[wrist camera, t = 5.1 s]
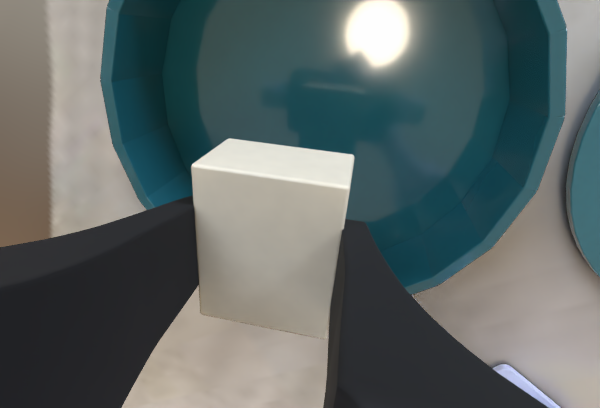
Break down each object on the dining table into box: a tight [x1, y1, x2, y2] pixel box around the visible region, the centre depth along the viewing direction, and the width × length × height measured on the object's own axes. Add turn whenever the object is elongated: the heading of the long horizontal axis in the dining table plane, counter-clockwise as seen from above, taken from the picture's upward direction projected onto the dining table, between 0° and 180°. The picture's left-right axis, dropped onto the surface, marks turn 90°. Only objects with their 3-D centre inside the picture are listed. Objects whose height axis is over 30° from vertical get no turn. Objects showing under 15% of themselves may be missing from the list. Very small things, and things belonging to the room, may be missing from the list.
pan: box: [100, 0, 567, 295], centre depth 15 cm, size 17×17×4 cm
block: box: [191, 138, 354, 339], centre depth 11 cm, size 4×5×3 cm
